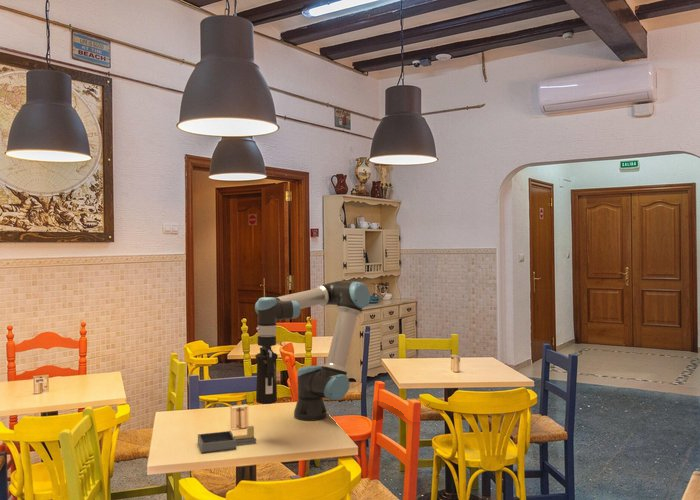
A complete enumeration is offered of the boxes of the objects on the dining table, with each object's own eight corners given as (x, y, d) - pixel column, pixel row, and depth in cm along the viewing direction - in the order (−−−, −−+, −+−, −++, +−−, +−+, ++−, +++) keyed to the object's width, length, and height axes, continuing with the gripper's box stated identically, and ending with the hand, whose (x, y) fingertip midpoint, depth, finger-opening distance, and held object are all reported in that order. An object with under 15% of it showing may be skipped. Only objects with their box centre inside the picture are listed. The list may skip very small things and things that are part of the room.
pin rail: (253, 440, 249) (253, 435, 249) (256, 443, 245) (256, 438, 245) (233, 442, 246) (233, 437, 246) (235, 445, 242) (234, 441, 242)
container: (273, 404, 245) (273, 354, 245) (252, 403, 247) (252, 354, 247) (280, 399, 254) (280, 351, 254) (259, 398, 256) (259, 350, 256)
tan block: (252, 438, 248) (252, 425, 248) (253, 439, 246) (253, 427, 246) (234, 440, 245) (234, 427, 245) (234, 441, 243) (234, 429, 243)
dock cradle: (230, 439, 250) (230, 430, 250) (236, 449, 238) (236, 440, 238) (197, 443, 246) (197, 434, 246) (201, 453, 233) (201, 444, 233)
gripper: (252, 332, 259) (251, 386, 259) (263, 339, 239) (263, 397, 239) (269, 331, 262) (269, 385, 262) (282, 338, 242) (281, 396, 242)
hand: (266, 391), depth 250 cm, fingers closed on container, 8 cm apart
